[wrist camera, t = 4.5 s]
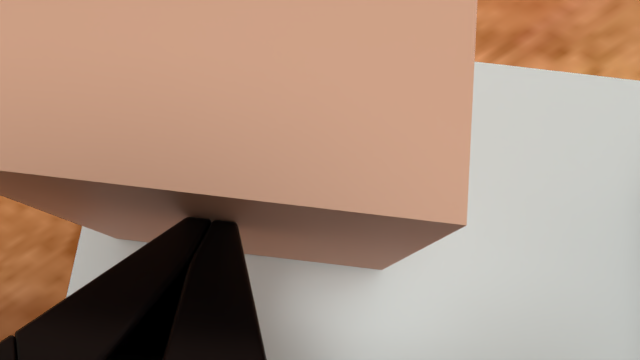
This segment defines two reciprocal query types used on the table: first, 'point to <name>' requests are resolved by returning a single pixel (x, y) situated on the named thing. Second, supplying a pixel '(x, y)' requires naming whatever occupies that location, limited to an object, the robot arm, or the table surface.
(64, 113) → the terracotta block
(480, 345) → the grey base board
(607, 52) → the table surface
